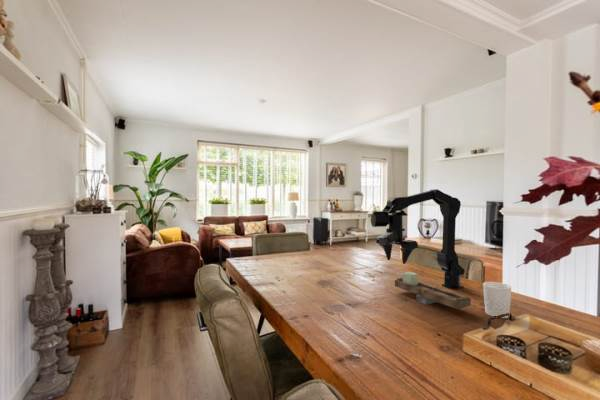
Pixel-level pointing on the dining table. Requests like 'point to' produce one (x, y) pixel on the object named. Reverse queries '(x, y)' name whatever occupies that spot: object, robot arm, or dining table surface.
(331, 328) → the dining table surface
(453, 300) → the beam
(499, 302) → the white cup
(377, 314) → the dining table surface
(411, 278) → the pale green cube
